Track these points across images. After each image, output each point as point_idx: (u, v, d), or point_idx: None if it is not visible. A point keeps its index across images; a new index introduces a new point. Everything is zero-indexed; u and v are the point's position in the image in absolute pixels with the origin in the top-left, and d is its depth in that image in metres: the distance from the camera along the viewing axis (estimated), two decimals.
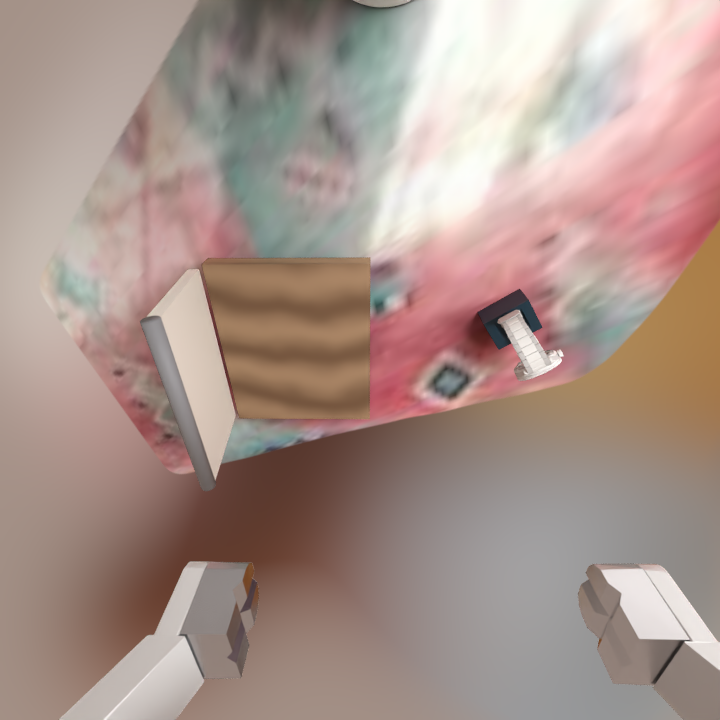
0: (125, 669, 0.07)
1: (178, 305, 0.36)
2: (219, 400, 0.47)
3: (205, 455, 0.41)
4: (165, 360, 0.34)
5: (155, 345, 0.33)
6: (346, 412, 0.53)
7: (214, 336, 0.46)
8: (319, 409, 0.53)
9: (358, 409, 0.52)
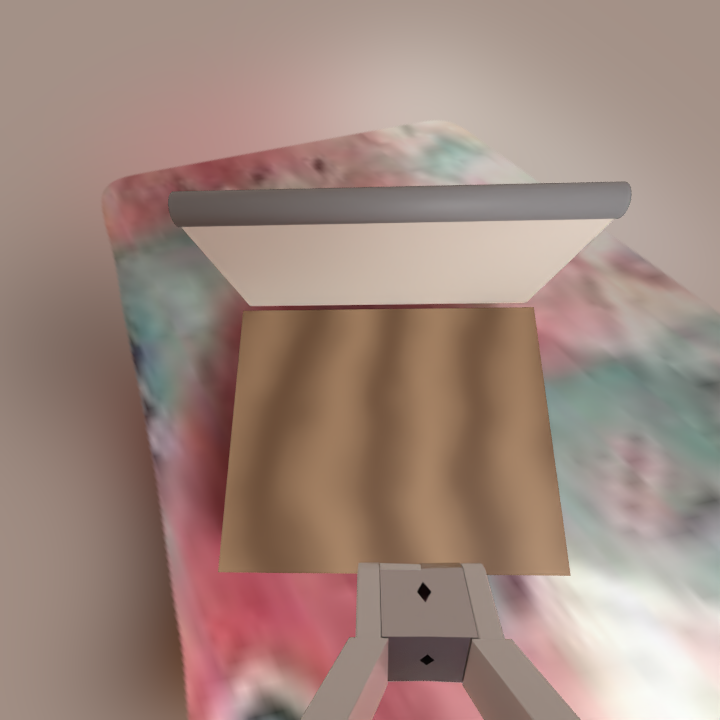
0: (344, 672, 0.07)
1: (560, 257, 0.22)
2: (320, 283, 0.26)
3: (274, 221, 0.18)
4: (550, 201, 0.17)
5: (586, 192, 0.17)
6: (241, 519, 0.26)
7: (418, 301, 0.29)
8: (252, 461, 0.27)
9: (247, 547, 0.25)
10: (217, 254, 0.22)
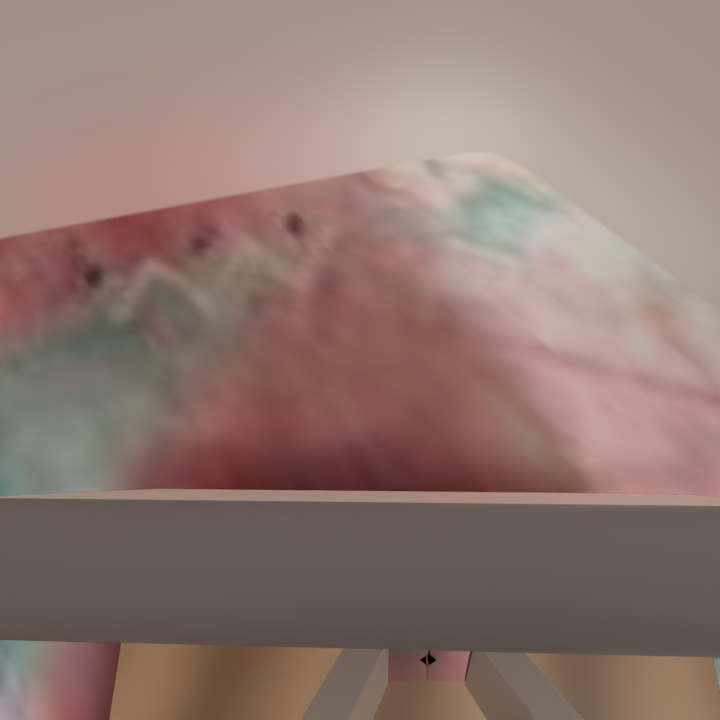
0: (344, 672, 0.07)
1: None
2: None
3: None
4: None
5: None
6: None
7: None
8: None
9: None
10: None
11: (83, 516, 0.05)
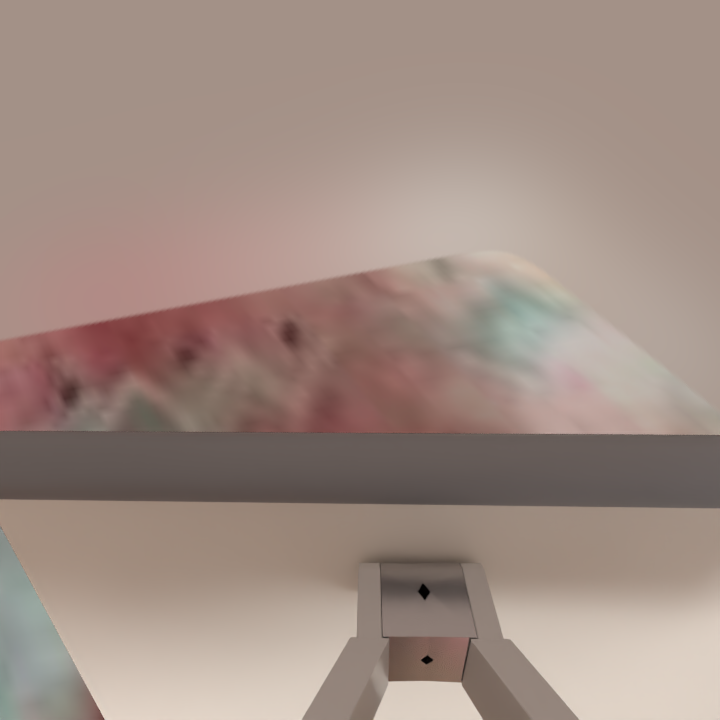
0: (345, 672, 0.07)
1: None
2: (272, 677, 0.12)
3: (179, 487, 0.09)
4: None
5: None
6: None
7: None
8: None
9: None
10: (56, 582, 0.10)
11: None
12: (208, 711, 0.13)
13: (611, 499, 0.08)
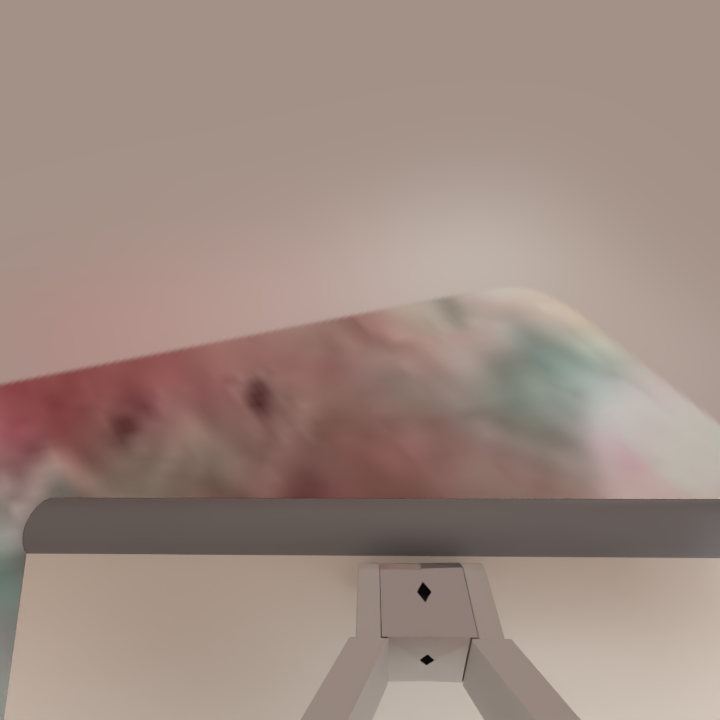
0: (344, 672, 0.07)
1: None
2: None
3: (201, 533, 0.10)
4: (677, 507, 0.10)
5: None
6: None
7: None
8: None
9: None
10: (36, 672, 0.10)
11: None
12: None
13: (560, 543, 0.10)
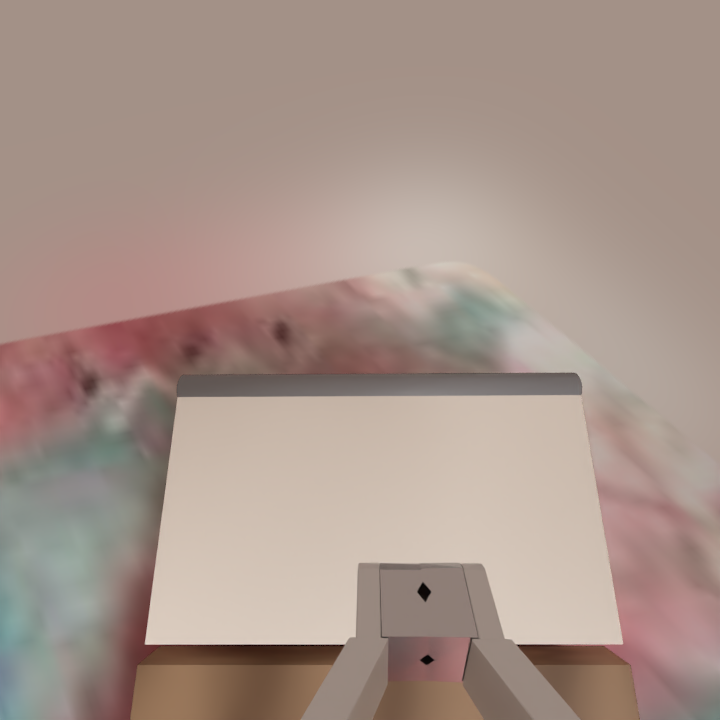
0: (344, 672, 0.07)
1: (577, 472, 0.19)
2: (285, 543, 0.18)
3: (269, 385, 0.20)
4: (508, 373, 0.21)
5: (535, 373, 0.21)
6: None
7: None
8: None
9: None
10: (184, 453, 0.20)
11: None
12: (232, 591, 0.18)
13: (448, 387, 0.20)
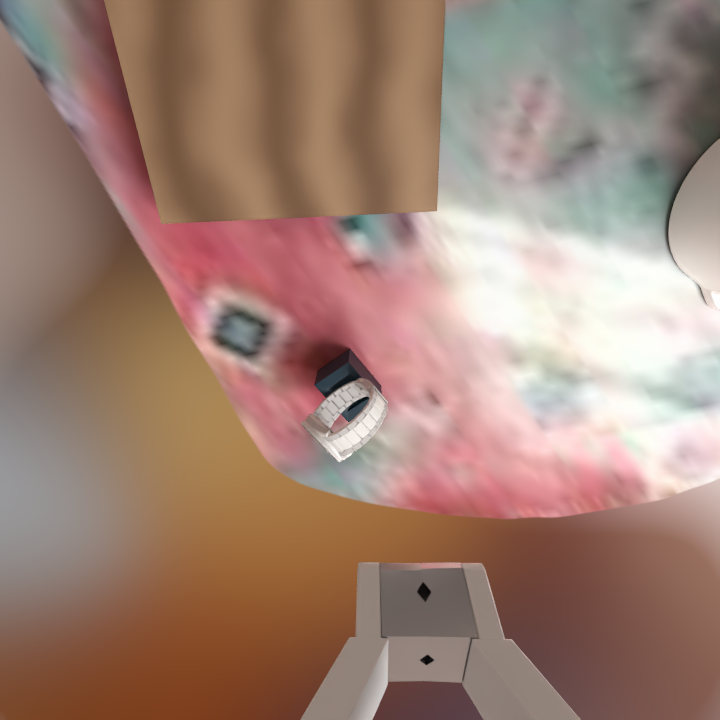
0: (344, 672, 0.07)
1: None
2: None
3: None
4: None
5: None
6: (165, 180, 0.30)
7: None
8: (157, 123, 0.28)
9: (178, 203, 0.31)
10: None
11: None
12: None
13: None
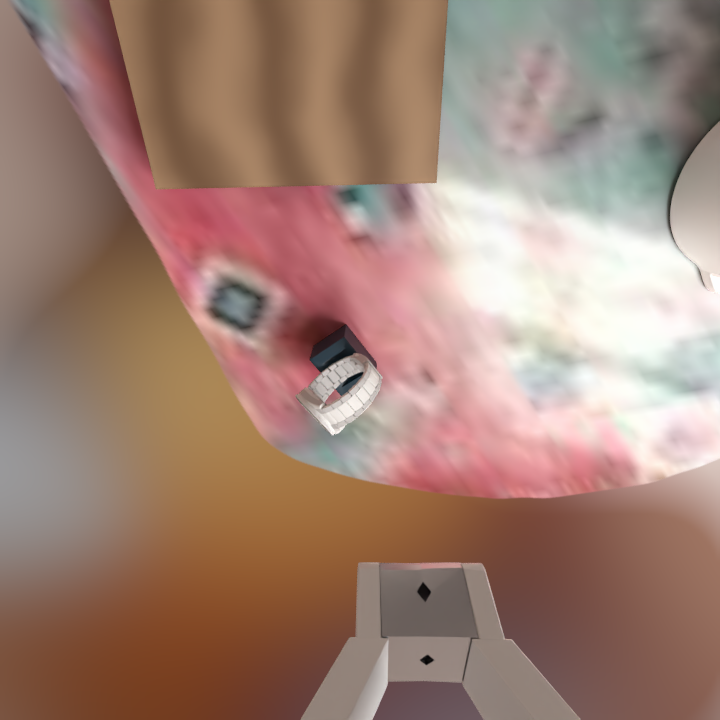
0: (344, 672, 0.07)
1: None
2: None
3: None
4: None
5: None
6: (160, 143, 0.29)
7: None
8: (152, 83, 0.27)
9: (173, 168, 0.30)
10: None
11: None
12: None
13: None
